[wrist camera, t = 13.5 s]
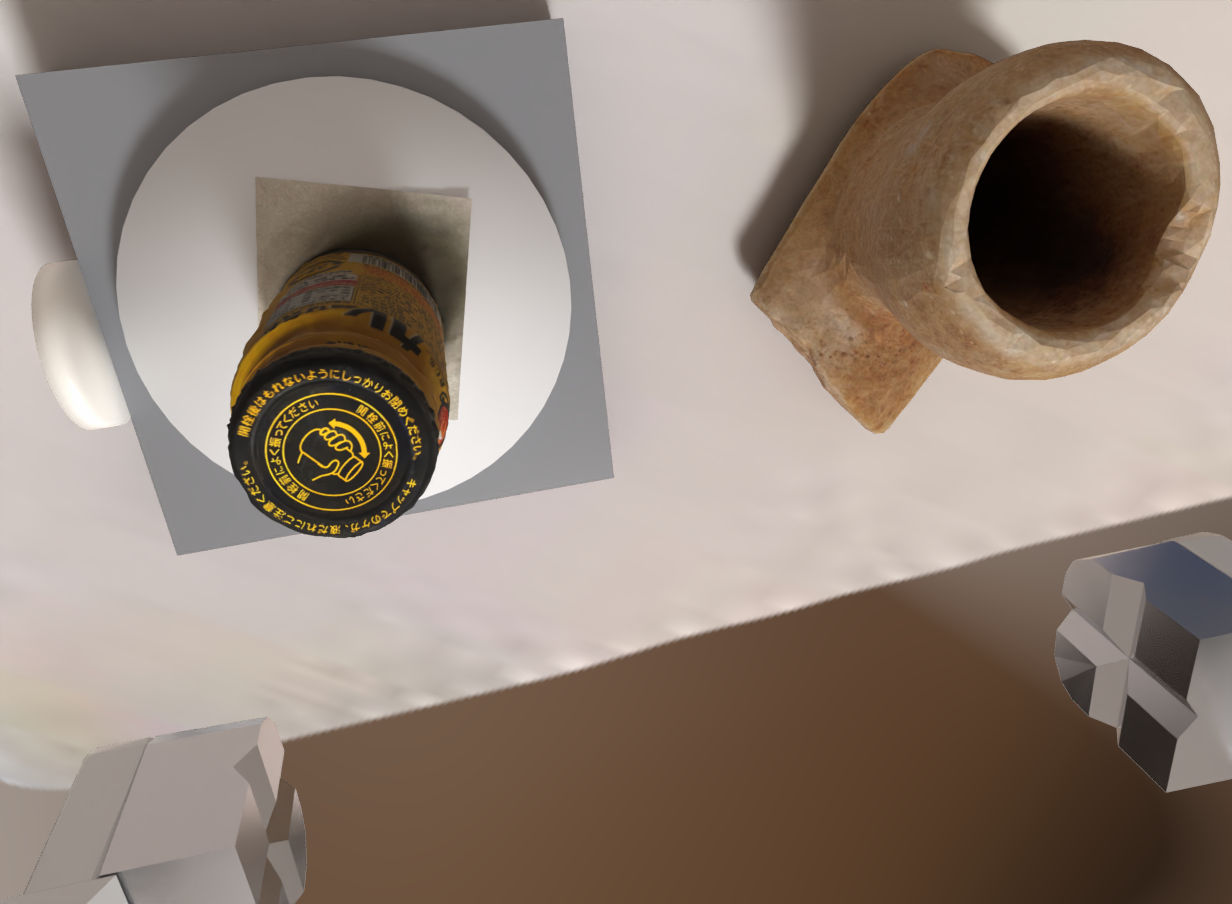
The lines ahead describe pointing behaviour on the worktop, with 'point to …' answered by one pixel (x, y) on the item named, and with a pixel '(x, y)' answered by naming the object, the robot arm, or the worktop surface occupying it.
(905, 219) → the stone cup
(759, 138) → the worktop surface
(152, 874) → the robot arm
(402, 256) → the condiment
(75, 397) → the scale
